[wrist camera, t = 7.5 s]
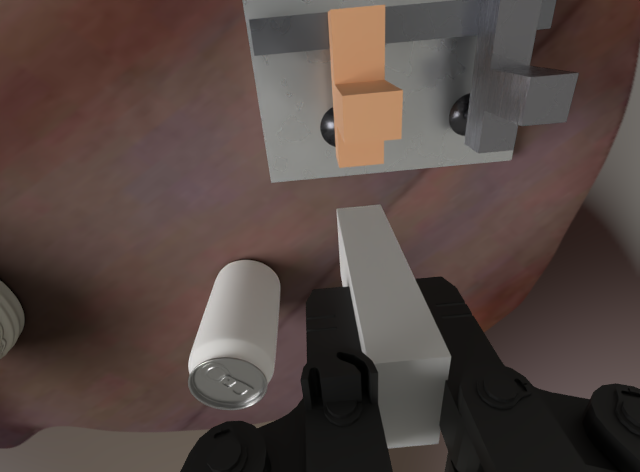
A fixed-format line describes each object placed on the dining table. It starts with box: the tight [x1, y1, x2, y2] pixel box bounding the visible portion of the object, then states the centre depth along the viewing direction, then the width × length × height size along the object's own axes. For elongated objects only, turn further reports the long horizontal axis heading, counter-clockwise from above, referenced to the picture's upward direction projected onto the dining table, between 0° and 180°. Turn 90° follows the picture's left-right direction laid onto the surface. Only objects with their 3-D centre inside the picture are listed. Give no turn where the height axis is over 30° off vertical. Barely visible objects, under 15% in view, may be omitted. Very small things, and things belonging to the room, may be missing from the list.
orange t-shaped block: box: [328, 5, 403, 168], centre depth 22 cm, size 9×3×9 cm, turn 5°
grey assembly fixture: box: [243, 0, 579, 183], centre depth 23 cm, size 14×20×10 cm
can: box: [188, 260, 280, 410], centre depth 31 cm, size 6×6×12 cm
